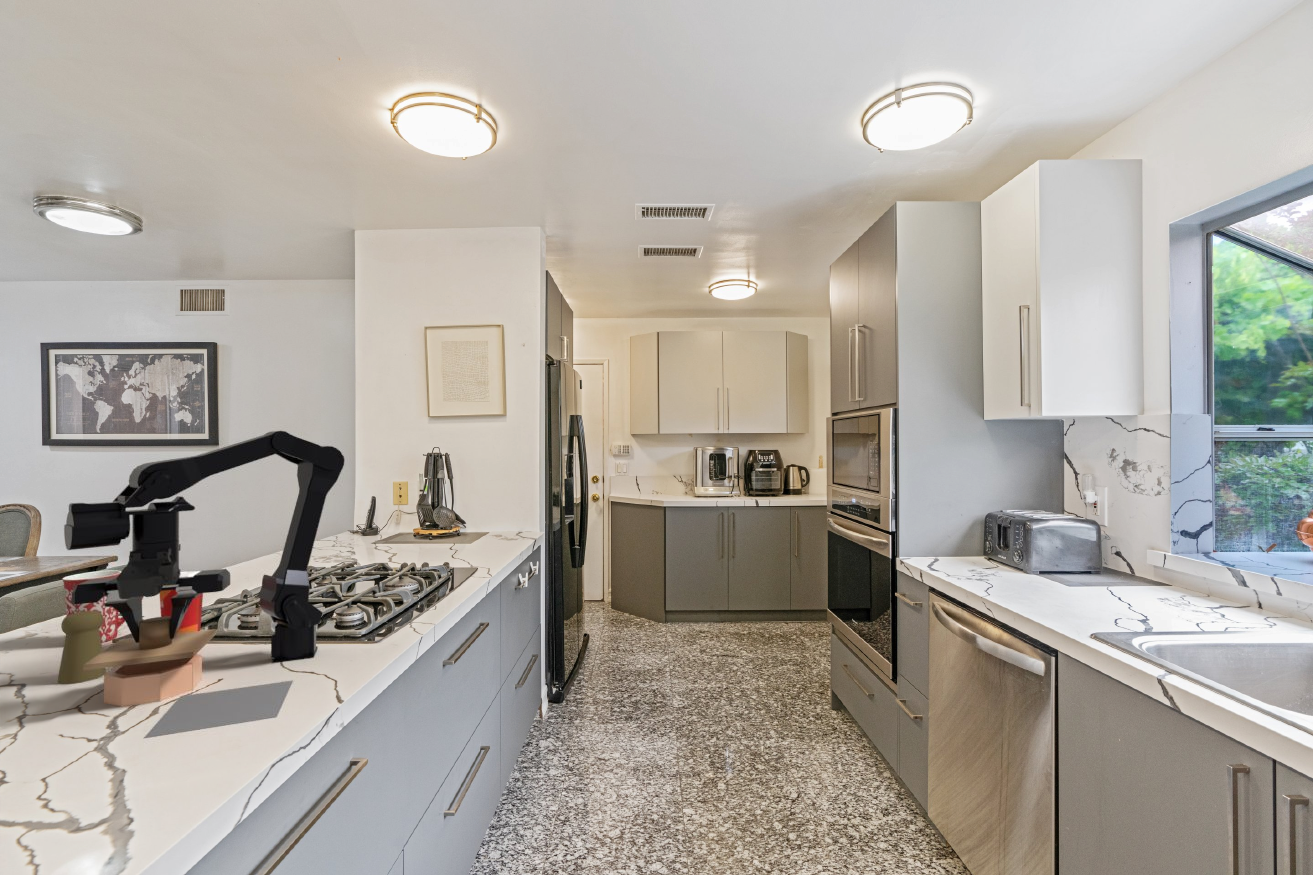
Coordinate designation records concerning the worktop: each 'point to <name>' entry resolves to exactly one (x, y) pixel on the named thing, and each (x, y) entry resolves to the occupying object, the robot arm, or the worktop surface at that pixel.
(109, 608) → the mug
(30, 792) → the worktop surface
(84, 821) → the worktop surface
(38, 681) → the worktop surface
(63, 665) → the olive pepper mill
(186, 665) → the bowl
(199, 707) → the mat
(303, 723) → the worktop surface
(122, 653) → the lid
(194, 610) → the paper cup
